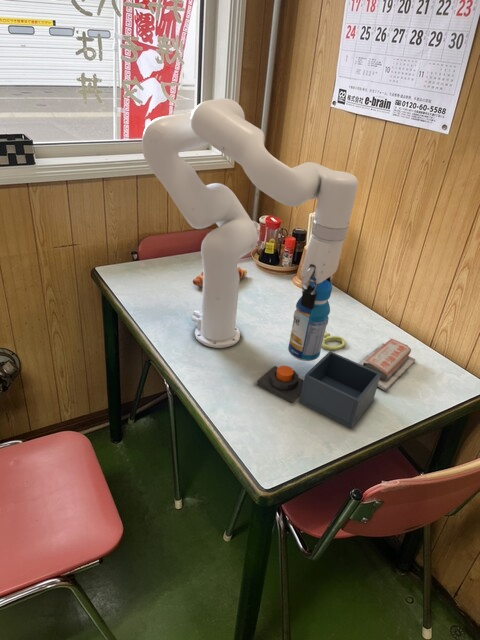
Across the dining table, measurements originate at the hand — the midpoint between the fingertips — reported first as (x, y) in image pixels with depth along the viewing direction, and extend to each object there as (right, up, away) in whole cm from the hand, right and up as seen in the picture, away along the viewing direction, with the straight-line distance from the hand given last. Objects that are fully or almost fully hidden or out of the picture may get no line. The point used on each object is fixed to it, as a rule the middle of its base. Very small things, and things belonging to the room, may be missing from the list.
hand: (314, 300), depth 114 cm
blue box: (+5, -24, +1) cm, 25 cm away
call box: (-7, -21, +4) cm, 22 cm away
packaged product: (+20, -18, +14) cm, 30 cm away
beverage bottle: (-2, -13, +8) cm, 15 cm away
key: (+7, -10, +24) cm, 27 cm away
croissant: (-24, +8, +48) cm, 54 cm away
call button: (-7, -18, +2) cm, 20 cm away
